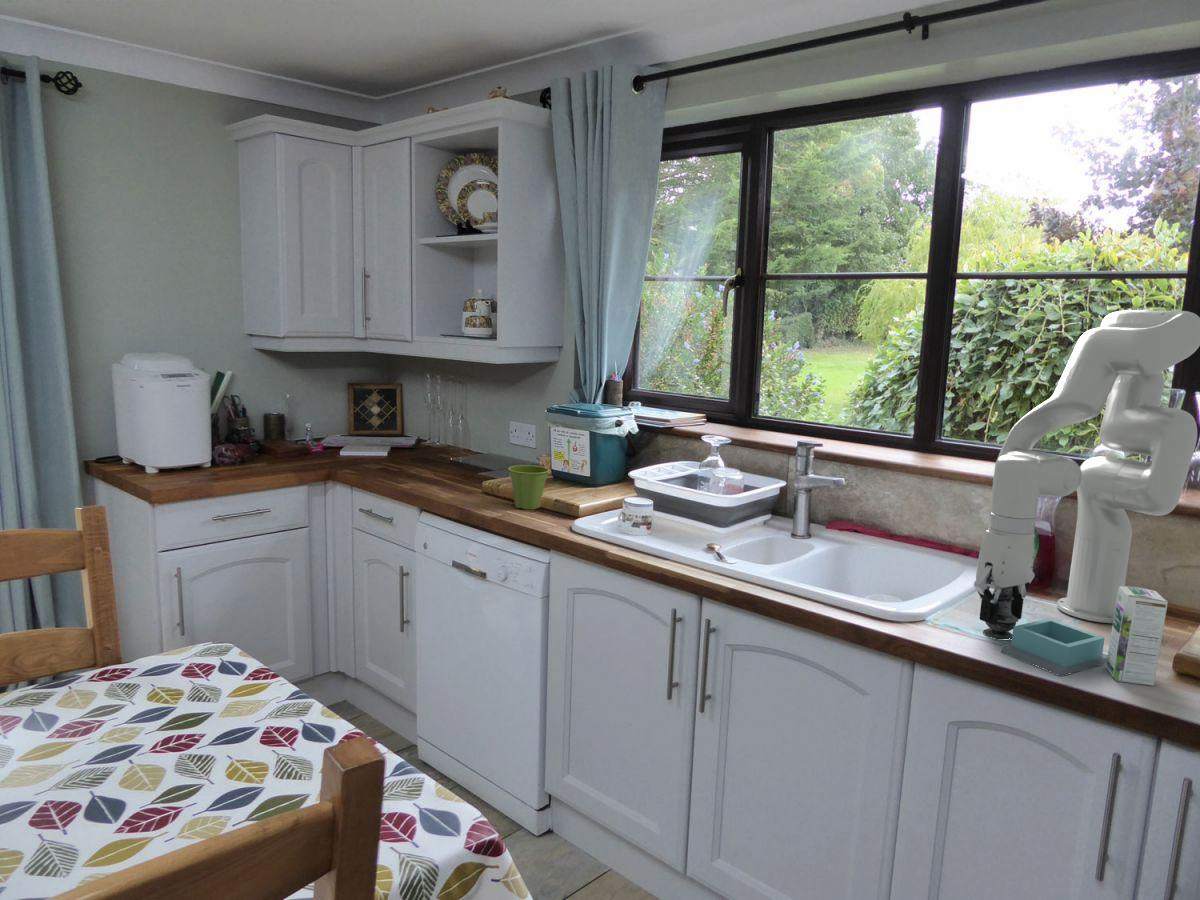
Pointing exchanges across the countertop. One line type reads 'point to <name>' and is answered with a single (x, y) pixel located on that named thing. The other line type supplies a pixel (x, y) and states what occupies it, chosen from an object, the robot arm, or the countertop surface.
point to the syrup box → (1136, 635)
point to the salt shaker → (1003, 617)
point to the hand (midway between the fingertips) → (1000, 618)
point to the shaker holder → (1056, 647)
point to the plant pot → (528, 485)
